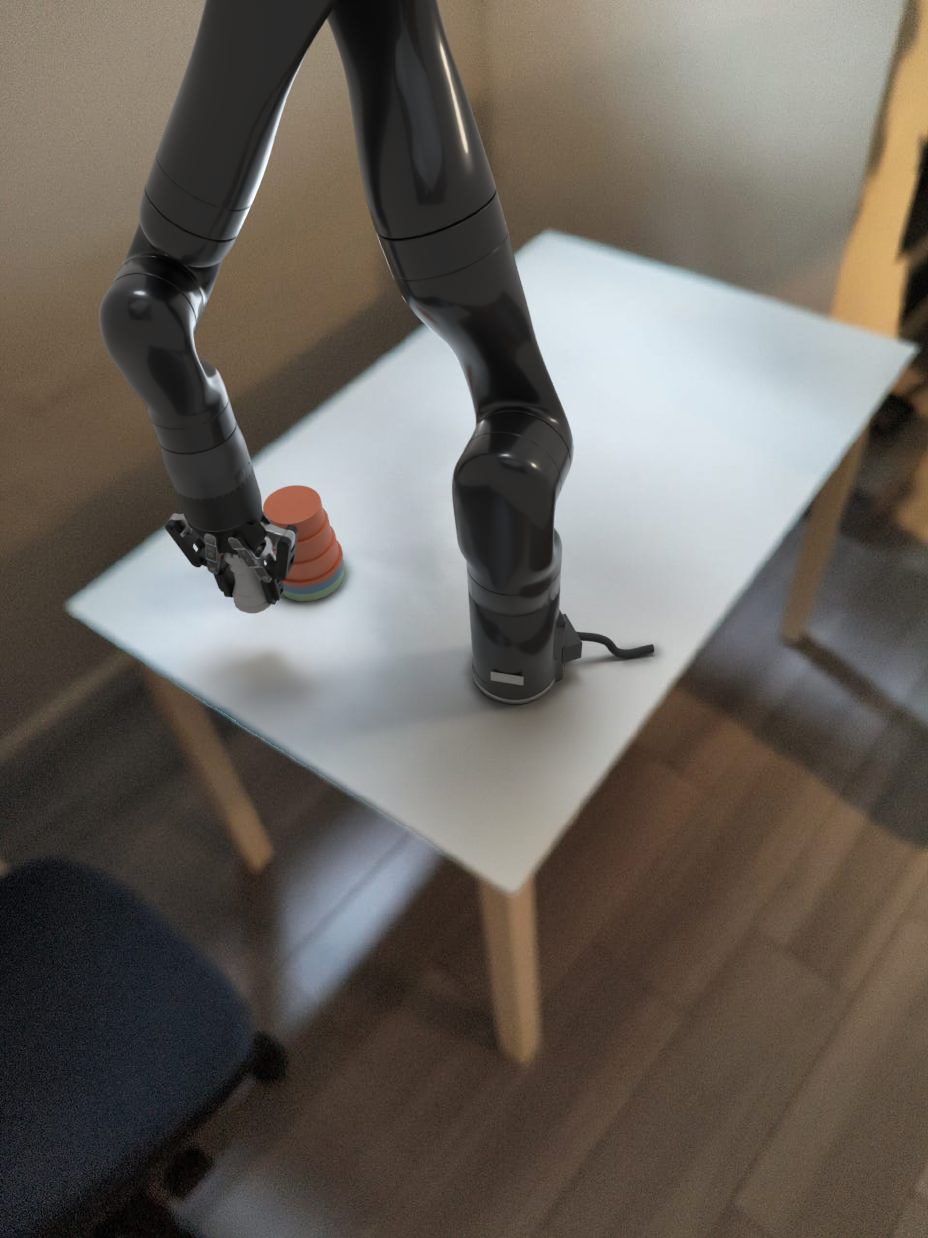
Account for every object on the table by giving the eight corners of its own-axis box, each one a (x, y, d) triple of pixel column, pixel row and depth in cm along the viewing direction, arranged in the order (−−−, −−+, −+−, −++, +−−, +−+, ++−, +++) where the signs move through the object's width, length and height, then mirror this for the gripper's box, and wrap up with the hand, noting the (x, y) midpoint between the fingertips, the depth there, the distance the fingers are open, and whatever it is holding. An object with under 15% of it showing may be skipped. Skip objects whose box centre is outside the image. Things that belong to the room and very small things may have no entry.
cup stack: (336, 542, 116) (321, 470, 108) (354, 590, 111) (340, 518, 102) (266, 561, 115) (245, 489, 106) (281, 611, 109) (260, 540, 100)
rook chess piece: (245, 622, 96) (226, 568, 90) (228, 597, 99) (207, 544, 93) (283, 603, 98) (266, 549, 92) (265, 579, 100) (247, 525, 94)
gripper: (297, 453, 86) (328, 580, 98) (161, 436, 89) (208, 561, 101) (265, 505, 81) (302, 632, 94) (122, 485, 84) (177, 610, 97)
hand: (253, 594), depth 98 cm, fingers closed on rook chess piece, 4 cm apart
